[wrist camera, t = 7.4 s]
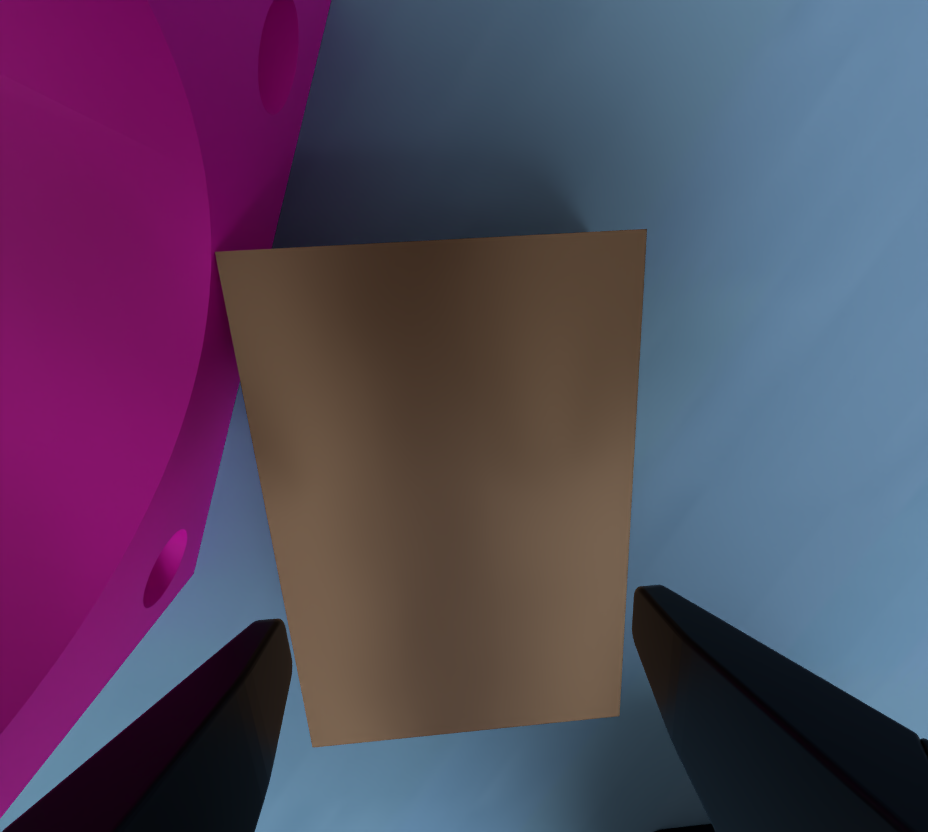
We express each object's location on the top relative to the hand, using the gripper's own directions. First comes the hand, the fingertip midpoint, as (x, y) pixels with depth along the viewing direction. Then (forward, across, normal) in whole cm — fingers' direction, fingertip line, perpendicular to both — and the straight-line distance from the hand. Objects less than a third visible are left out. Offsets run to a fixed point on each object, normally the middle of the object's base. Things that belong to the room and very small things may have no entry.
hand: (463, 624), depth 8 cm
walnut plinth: (+6, 0, 0) cm, 6 cm away
